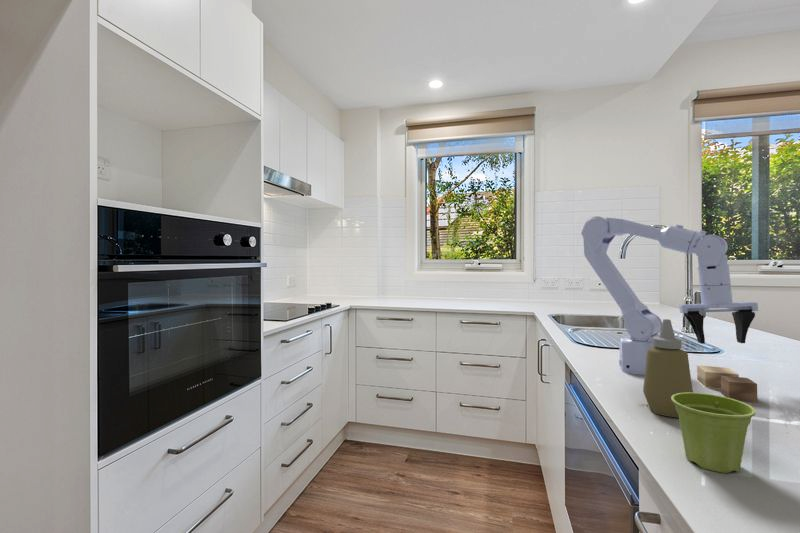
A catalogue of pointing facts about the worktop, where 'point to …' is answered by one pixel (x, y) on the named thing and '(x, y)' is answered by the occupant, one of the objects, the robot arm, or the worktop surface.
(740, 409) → the plant pot
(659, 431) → the worktop surface
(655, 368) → the squeeze bottle
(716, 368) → the oak block
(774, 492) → the worktop surface
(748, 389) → the walnut block
